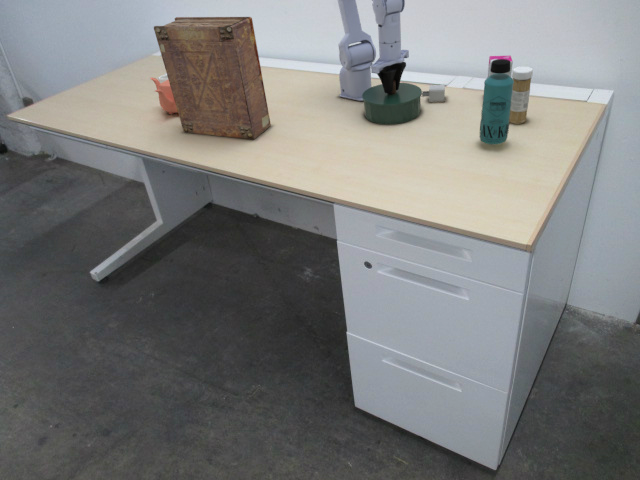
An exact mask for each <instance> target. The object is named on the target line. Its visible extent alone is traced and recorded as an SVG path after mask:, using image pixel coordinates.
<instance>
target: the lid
mask: <svg viewBox="0 0 640 480" xmlns="http://www.w3.org/2000/svg"><path fill="white" fill-rule="evenodd" d="M422 91H423V90H422V89H421V87H420V86H418V85H416V84H413V83H408V82H400V84H399V89H398V90H396V80H393V91H392V94H388V93H385V92H384V88H383V85H382V83H381V84H376V85H374V86H372V87H371V88H369V89H367V90H366V91H364V92H363V94H362V99H363V100H364V101H365V102H366V103H369V104H372V105H377V106H397V105H402V104H407V103H410V102H412V101H415V100H417V99H418V98H419V97H420V98H421V96H422V95H421V94H422V93H423V92H422ZM364 101H363V102H364Z"/></svg>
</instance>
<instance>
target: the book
mask: <svg viewBox="0 0 640 480" xmlns="http://www.w3.org/2000/svg"><path fill="white" fill-rule="evenodd" d="M153 31H154V34H155V37H156V41H157V45H158V48H159V51H160V54H161V59H162V62H163V64H164V69H165V73H167V76H168V79H169V83H170V86H171V90H172V93H173V96H174V100H175V103H176V107H177V110H178V112H177V113H178V117H179V120H180V125H181V128H182V131H183V132H184V133H187V134H188V133H189V134H197V135H207V136H216V137H227V138H233V139H234V138H235V139H246V140H255V139H257V137H259V136H261V134H262V133H264V132H265V131H267V129H269V128H270V127H271V125H272V124H271V118H270V114H269V113H270V112H269V107H268V102H267V96H266V91H265V83H264V79H263V73H262V67H261V62H260V56H259V50H258V46H257V45H258V44H257V40H256V34H255V33H256V32H255V27H254V23H253V17H252V16H176V17H175V18H174V20H173V21H171V22H169V23H166V24H164V25H154V26H153Z"/></svg>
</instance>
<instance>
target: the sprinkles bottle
mask: <svg viewBox="0 0 640 480" xmlns="http://www.w3.org/2000/svg"><path fill="white" fill-rule="evenodd" d="M533 71H534V70H533V68H532V67H531V66H517V67H514V68H512V73H511V78H512V79H513V80H514V84H513V90H512V99H511V109H510V111H511V112H510V117H509V122H510V123H511V124H515V125H519V124H524V123H526V122H527V113H528V108H529V101H530V94H531V82H532V77H533Z"/></svg>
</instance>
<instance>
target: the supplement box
mask: <svg viewBox="0 0 640 480" xmlns="http://www.w3.org/2000/svg"><path fill="white" fill-rule="evenodd" d="M497 59H506V60H509V61H510V71H509V72H507V73H502V74H507V75H509V76H510V77H511V78H512V73H513V62H514V61H513V59H512V56H511V55H489V58H488V68H487V78H488V77H489V76H491V75H493V74H498V73H492V72H491V71H490V70H491V65H492V61H494V60H497ZM487 78H486V79H487Z"/></svg>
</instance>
